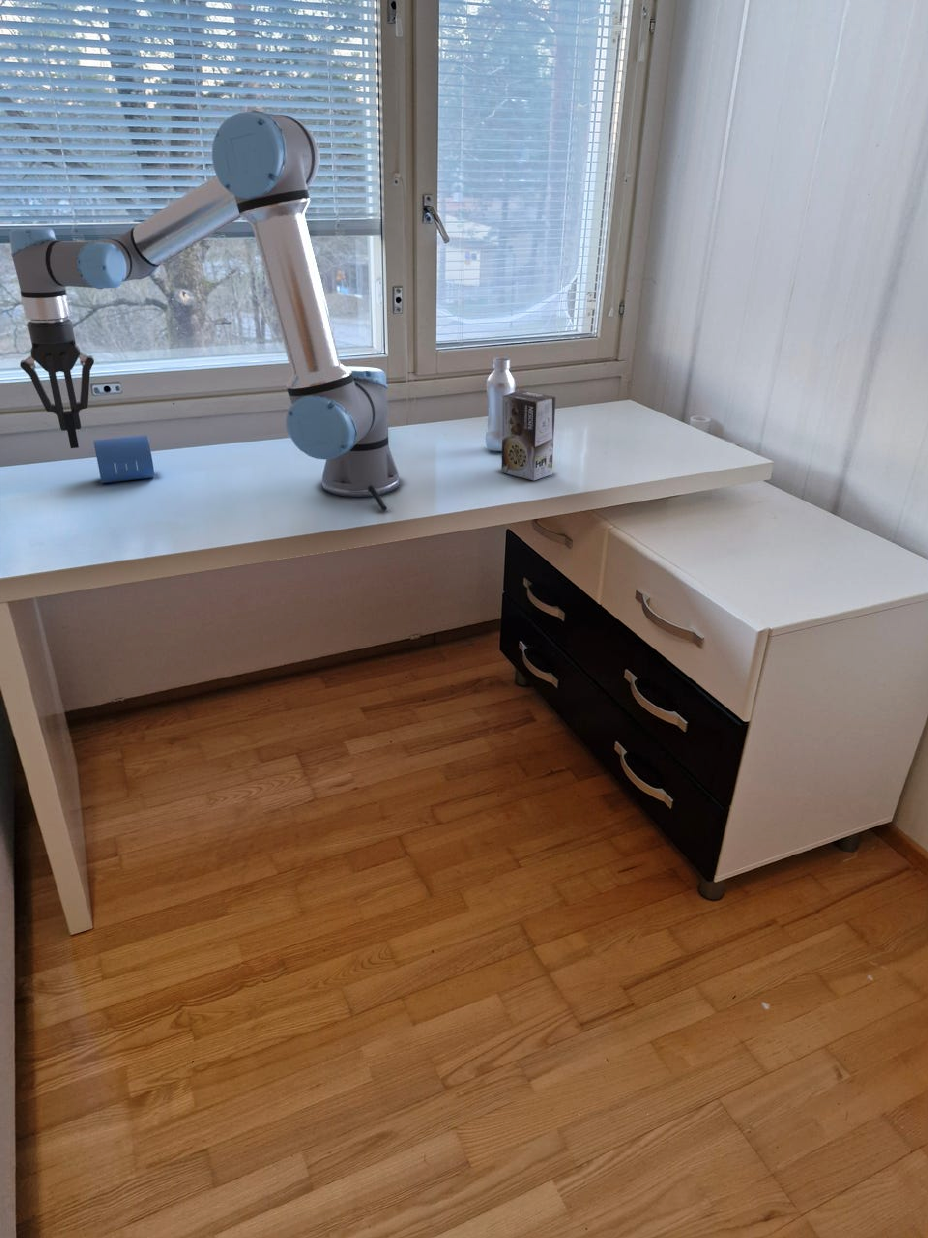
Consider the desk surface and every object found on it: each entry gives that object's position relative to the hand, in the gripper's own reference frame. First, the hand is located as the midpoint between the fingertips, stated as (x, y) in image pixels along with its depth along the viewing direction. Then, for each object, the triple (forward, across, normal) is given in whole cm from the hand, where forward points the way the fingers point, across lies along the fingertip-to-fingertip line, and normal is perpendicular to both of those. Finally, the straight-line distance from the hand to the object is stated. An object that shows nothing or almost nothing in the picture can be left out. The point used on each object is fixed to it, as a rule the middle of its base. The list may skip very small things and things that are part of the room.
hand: (74, 445), depth 170 cm
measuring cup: (+8, -9, 0) cm, 12 cm away
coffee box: (+8, -85, +28) cm, 90 cm away
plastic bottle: (+8, -87, +11) cm, 88 cm away
